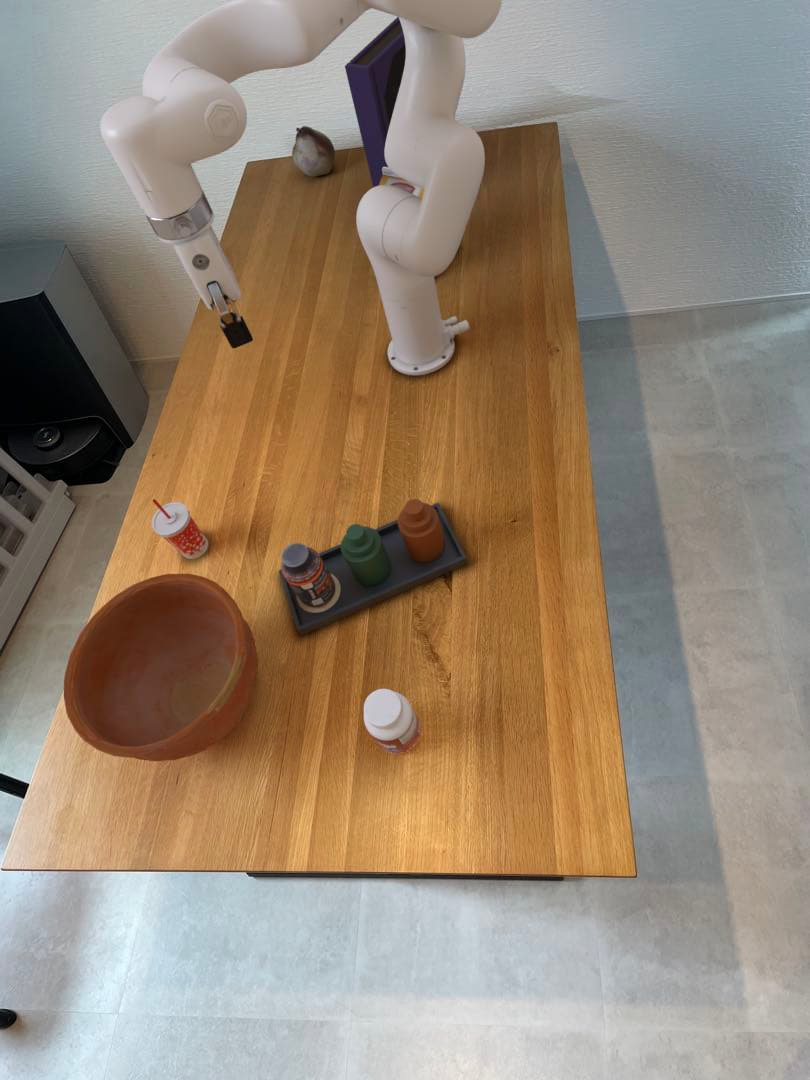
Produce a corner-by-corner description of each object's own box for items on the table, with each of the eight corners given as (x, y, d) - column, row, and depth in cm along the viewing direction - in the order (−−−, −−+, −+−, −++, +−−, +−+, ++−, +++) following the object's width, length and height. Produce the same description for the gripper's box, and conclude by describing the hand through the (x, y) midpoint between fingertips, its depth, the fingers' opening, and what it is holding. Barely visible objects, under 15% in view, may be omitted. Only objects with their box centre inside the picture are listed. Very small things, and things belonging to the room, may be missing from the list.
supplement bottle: (331, 610, 102) (308, 575, 93) (294, 606, 104) (268, 572, 94) (340, 575, 105) (319, 538, 95) (305, 572, 106) (280, 535, 97)
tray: (440, 509, 109) (438, 502, 107) (468, 563, 103) (466, 557, 101) (282, 576, 108) (278, 570, 106) (301, 636, 102) (297, 630, 100)
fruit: (295, 184, 165) (278, 134, 155) (304, 161, 170) (288, 111, 159) (335, 181, 163) (320, 130, 152) (343, 158, 167) (329, 107, 157)
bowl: (236, 807, 90) (185, 784, 78) (91, 750, 98) (23, 720, 86) (311, 640, 101) (276, 595, 88) (174, 600, 109) (124, 554, 96)
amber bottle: (436, 523, 107) (425, 482, 97) (451, 553, 103) (441, 514, 94) (401, 538, 106) (387, 499, 97) (415, 568, 103) (401, 531, 94)
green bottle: (383, 546, 106) (367, 507, 97) (397, 576, 103) (381, 539, 94) (348, 561, 106) (328, 524, 97) (360, 592, 103) (341, 556, 94)
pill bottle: (367, 736, 92) (346, 711, 83) (396, 700, 94) (379, 672, 84) (402, 765, 89) (384, 743, 80) (431, 727, 91) (417, 701, 82)
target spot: (332, 565, 106) (332, 564, 106) (346, 601, 103) (346, 601, 102) (291, 582, 106) (291, 582, 106) (303, 620, 102) (303, 619, 102)
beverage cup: (218, 535, 114) (180, 487, 102) (202, 566, 111) (160, 520, 100) (188, 528, 116) (147, 480, 104) (171, 559, 113) (127, 513, 102)
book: (400, 216, 150) (369, 68, 125) (377, 211, 153) (342, 65, 128) (454, 155, 159) (435, 5, 133) (431, 151, 161) (409, 3, 136)
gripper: (223, 239, 78) (274, 350, 93) (195, 169, 88) (245, 279, 102) (162, 264, 78) (223, 371, 93) (141, 190, 88) (199, 298, 102)
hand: (235, 322), depth 97 cm, fingers open, 9 cm apart
